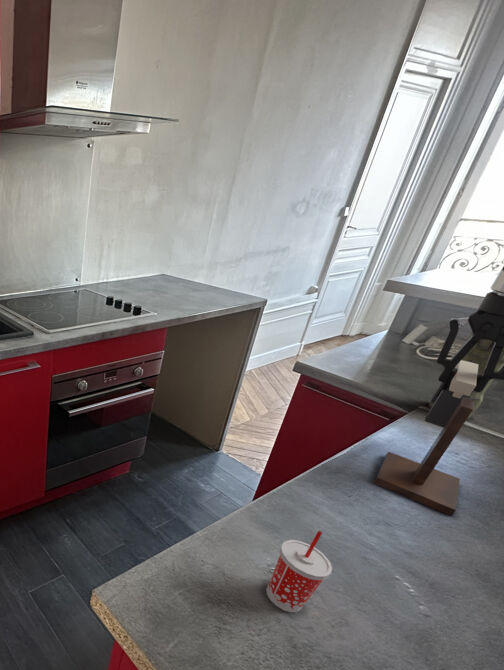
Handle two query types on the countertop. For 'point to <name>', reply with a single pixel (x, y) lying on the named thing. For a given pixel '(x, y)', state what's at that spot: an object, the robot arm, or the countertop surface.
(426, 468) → the headphone stand
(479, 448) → the countertop surface
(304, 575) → the beverage cup
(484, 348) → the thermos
